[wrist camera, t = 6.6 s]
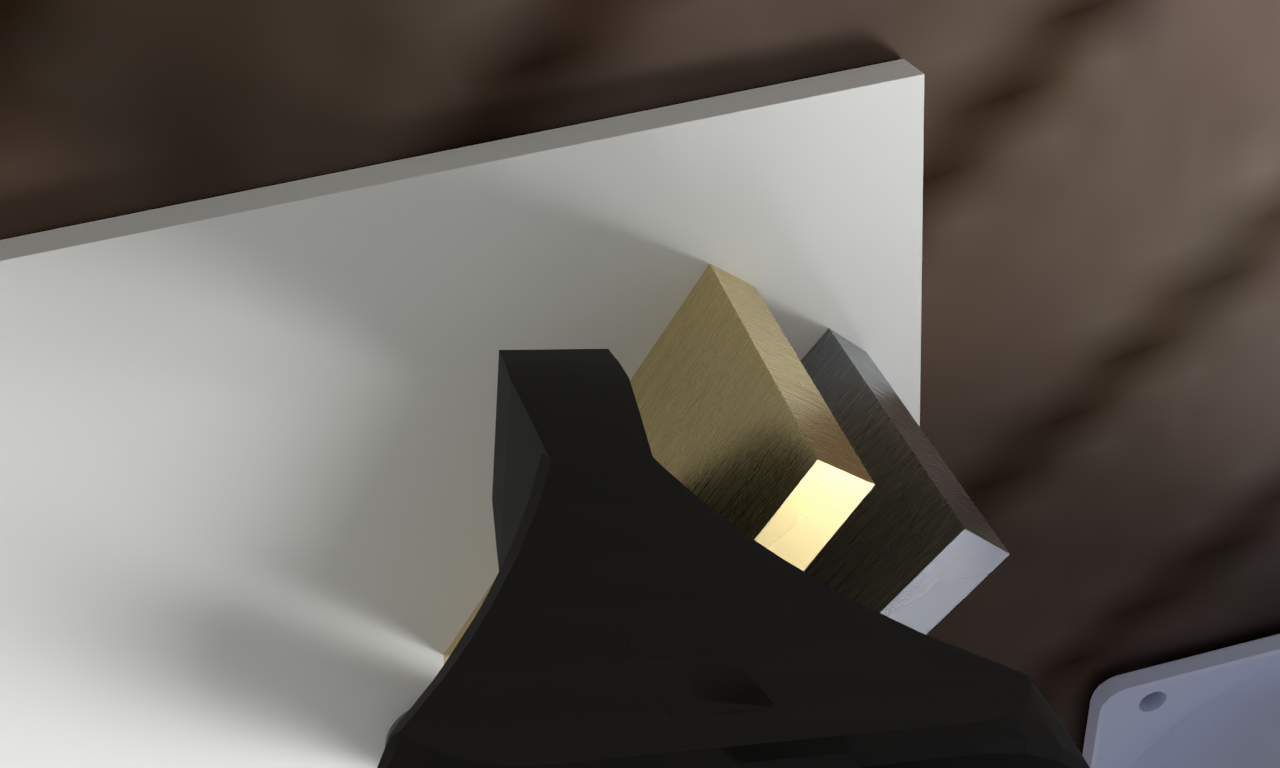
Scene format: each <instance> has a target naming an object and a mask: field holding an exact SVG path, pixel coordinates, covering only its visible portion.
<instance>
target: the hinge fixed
mask: <svg viewBox="0 0 1280 768" xmlns="http://www.w3.org/2000/svg"><path fill="white" fill-rule="evenodd" d="M801 363H802V365H803V366H804V368H805V370H806V371H807V373H808V375H809V376H810V378H811V380H812V381H813V383H814V385H815V386H816V388H817V389H818V391H819V393H820V394H821V396H822V398H823V399H824V401H825V403H826V404H827V406H828V408H829V409H830V411H831V413H832V414H833V416H834V418H835V419H836V421H837V423H838V424H839V426H840V428H841V429H842V431H843V433H844V434H845V436H846V438H847V439H848V441H849V442H850V444H851V446H852V447H853V449H854V451H855V452H856V454H857V456H858V457H859V459H860V461H861V462H862V464H863V466H864V467H865V469H866V471H867V472H868V474H869V476H870V477H871V479H872V481H873V482H874V484H875V485H874V487H873V488H872V489H871V490H870V491H869V493H868V494H867V495H866V496H865V497H864V499H863V500H862V501H861V502H860V504H859V505H858V506H857V507H856V508H855V510H854V511H853V512H852V513H851V514H850V516H849V517H848V518H847V519H846V520H845V522H844V523H843V524H842V525H841V526H840V528H839V529H838V530H837V531H836V533H835V534H834V535H833V536H832V537H831V539H830V540H829V541H828V542H827V543H826V545H825V546H824V547H823V548H822V549H821V551H820V552H819V553H818V554H817V556H816V557H815V558H814V559H813V560H812V562H811V563H810V564H809V565H808V566H807V568H806V569H805V570H804V572H806V573H807V574H809V575H811V576H812V577H814V578H816V579H817V580H819V581H821V582H822V583H824V584H826V585H827V586H829V587H831V588H833V589H834V590H836V591H838V592H840V593H842V594H844V595H846V596H848V597H849V598H851V599H853V600H855V601H857V602H859V603H861V604H863V605H864V606H866V607H868V608H870V609H872V610H875V611H877V612H879V613H881V614H883V615H885V616H887V617H889V618H891V619H893V620H895V621H898V622H900V623H902V624H904V625H906V626H908V627H910V628H912V629H914V630H916V631H918V632H921V633H923V634H925V635H926V634H927V633H928V632H929V631H930V630H931V629H932V628H933V627H935V626H936V625H937V624H938V623H939V622H940V621H941V620H942V619H943V618H944V617H945V616H946V615H947V614H948V613H949V612H950V611H951V610H952V609H953V608H954V607H955V606H956V605H957V604H958V603H959V602H961V601H962V600H963V599H964V598H965V597H966V596H967V595H968V594H969V593H970V592H971V591H972V590H973V589H974V588H975V587H976V586H977V585H978V584H979V583H980V582H981V581H982V580H983V579H984V578H985V577H987V576H988V575H989V574H990V573H991V572H992V571H993V570H994V569H995V568H996V567H997V566H998V565H999V564H1000V563H1001V562H1002V561H1003V560H1004V559H1005V558H1006V557H1007V556H1008V555H1009V552H1008V551H1007V549H1006V548H1005V546H1004V545H1003V544H1002V542H1001V541H1000V539H999V538H998V537H997V535H996V534H995V532H994V531H993V530H992V528H991V527H990V525H989V524H988V523H987V521H986V520H985V518H984V517H983V515H982V514H981V513H980V511H979V510H978V508H977V507H976V506H975V504H974V503H973V501H972V500H971V499H970V497H969V496H968V494H967V493H966V491H965V490H964V489H963V487H962V486H961V484H960V483H959V482H958V480H957V479H956V477H955V476H954V475H953V473H952V472H951V470H950V469H949V468H948V466H947V465H946V463H945V462H944V460H943V459H942V458H941V456H940V455H939V453H938V452H937V451H936V449H935V448H934V446H933V445H932V444H931V442H930V441H929V439H928V438H927V436H926V435H925V434H924V432H923V431H922V429H921V428H920V427H919V425H918V424H917V422H916V421H915V420H914V418H913V417H912V415H911V414H910V412H909V411H908V410H907V408H906V407H905V405H904V404H903V403H902V401H901V400H900V398H899V397H898V396H897V394H896V393H895V391H894V390H893V389H892V387H891V386H890V384H889V383H888V381H887V380H886V379H885V377H884V376H883V374H882V373H881V372H880V370H879V369H878V367H877V366H876V365H875V363H874V362H873V360H872V359H871V357H870V356H869V355H868V353H867V352H866V351H864V350H863V349H861V348H860V347H858V346H856V345H855V344H853V343H852V342H850V341H849V340H847V339H845V338H844V337H842V336H841V335H839V334H838V333H836V332H834V331H833V330H831V329H830V328H829V329H828V330H827V331H826V332H825V333H824V334H823V336H822V337H821V338H820V339H819V340H818V341H817V342H816V344H815V345H814V346H813V347H812V348H811V349H810V351H809V352H808V353H807V354H806V355H805V356H804V357H803V359H802V360H801ZM408 711H409V710H408ZM408 711H407V712H408ZM407 712H405V713H404V714H403V715H401V716H400V717H399V718H398V719H397V720H396V721H395V722H394V724H393V725H392V726H391V728H390V729H389V731H388V733H387V736H386V740H385V747H386V744H387V741H388V737H389V735H390V733H391V732H392V731H393V730H394V728H395V727H396V726H397V725H398V723H399V722H400V721H401V720H402V718H403V717H404V716H405V715H406V713H407Z"/></svg>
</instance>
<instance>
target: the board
mask: <svg viewBox="0 0 1280 768" xmlns="http://www.w3.org/2000/svg"><path fill="white" fill-rule="evenodd" d="M923 139H924V73H922V72H921V71H920V70H918V69H917V68H916V67H914V66H913V65H912V64H910V63H909V62H907V61H906V60H905V59H900V60H895V61H890V62H885V63H880V64H875V65H870V66H865V67H860V68H855V69H850V70H845V71H840V72H835V73H830V74H825V75H820V76H815V77H810V78H805V79H800V80H795V81H790V82H785V83H780V84H775V85H770V86H765V87H760V88H755V89H750V90H745V91H740V92H735V93H730V94H725V95H720V96H715V97H710V98H705V99H700V100H695V101H690V102H685V103H680V104H675V105H671V106H666V107H661V108H656V109H651V110H646V111H641V112H636V113H631V114H626V115H621V116H616V117H611V118H606V119H601V120H596V121H591V122H586V123H581V124H576V125H571V126H566V127H561V128H556V129H551V130H546V131H541V132H536V133H531V134H526V135H521V136H516V137H511V138H506V139H501V140H496V141H491V142H486V143H481V144H476V145H471V146H466V147H461V148H456V149H451V150H446V151H441V152H436V153H431V154H426V155H421V156H416V157H411V158H406V159H401V160H397V161H392V162H387V163H382V164H377V165H372V166H367V167H362V168H357V169H352V170H347V171H342V172H337V173H332V174H327V175H322V176H317V177H312V178H307V179H302V180H297V181H292V182H287V183H282V184H277V185H272V186H267V187H262V188H257V189H252V190H247V191H242V192H237V193H232V194H227V195H222V196H217V197H212V198H207V199H202V200H197V201H192V202H187V203H182V204H177V205H172V206H167V207H162V208H157V209H152V210H147V211H142V212H137V213H132V214H128V215H123V216H118V217H113V218H108V219H103V220H98V221H93V222H88V223H83V224H78V225H73V226H68V227H63V228H58V229H53V230H48V231H43V232H38V233H33V234H28V235H23V236H18V237H13V238H8V239H3V240H0V768H377V767H378V764H379V762H380V759H381V757H382V754H383V752H384V749H385V740H386V736H387V733H388V731H389V729H390V728H391V726H392V725H393V724H394V722H395V721H396V720H397V719H398V718H399V717H400V716H401V715H403V714H404V713H405V712H407V711H408V710H410V708H411V707H412V706H413V705H414V703H415V702H416V701H417V700H418V698H419V697H420V696H421V695H422V693H423V692H424V691H425V690H426V688H427V687H428V686H429V685H430V683H431V682H432V681H433V680H434V678H435V677H436V675H437V674H438V673H439V671H440V670H441V668H442V667H443V666H444V657H443V655H444V654H445V652H446V651H447V649H448V648H449V646H450V645H451V643H452V642H453V640H454V639H455V637H456V636H457V634H458V633H459V631H460V630H461V629H462V627H463V626H464V624H465V623H466V621H467V620H468V618H469V617H470V615H471V614H472V612H473V611H474V609H475V608H476V606H477V605H478V604H479V602H480V601H481V599H482V598H483V596H484V595H485V593H486V592H487V590H488V589H489V587H490V586H491V584H492V583H493V581H494V580H495V578H496V576H497V574H498V572H499V567H498V557H497V548H496V537H495V527H494V516H493V505H492V489H493V468H494V446H495V425H496V404H497V383H498V361H499V350H544V349H609V351H610V352H611V353H612V354H613V355H614V357H615V358H616V359H617V360H618V361H619V363H620V364H621V366H622V367H623V369H624V371H625V372H626V374H627V375H628V377H629V380H631V379H632V377H633V376H634V374H635V373H636V371H637V370H638V368H639V367H640V365H641V364H642V362H643V361H644V359H645V358H646V357H647V355H648V354H649V352H650V351H651V349H652V348H653V346H654V345H655V343H656V342H657V340H658V339H659V337H660V336H661V334H662V333H663V332H664V330H665V329H666V327H667V326H668V324H669V323H670V321H671V320H672V318H673V317H674V315H675V314H676V312H677V311H678V310H679V308H680V307H681V305H682V304H683V302H684V301H685V299H686V298H687V296H688V295H689V293H690V292H691V290H692V289H693V287H694V286H695V285H696V283H697V282H698V280H699V279H700V277H701V276H702V274H703V273H704V271H705V270H706V268H707V267H708V265H709V264H712V265H714V266H716V267H718V268H720V269H722V270H724V271H726V272H727V273H729V274H731V275H733V276H735V277H737V278H739V279H741V280H743V281H745V282H747V283H749V284H751V285H753V286H755V287H756V288H757V290H758V292H759V293H760V295H761V297H762V298H763V300H764V302H765V303H766V305H767V307H768V308H769V310H770V312H771V313H772V315H773V317H774V318H775V320H776V322H777V323H778V325H779V327H780V328H781V330H782V332H783V333H784V335H785V336H786V338H787V340H788V341H789V343H790V345H791V346H792V348H793V350H794V351H795V353H796V355H797V356H798V358H799V360H800V361H801V360H802V359H803V357H804V356H805V355H806V354H807V353H808V352H809V351H810V349H811V348H812V347H813V346H814V345H815V344H816V342H817V341H818V340H819V339H820V338H821V337H822V336H823V334H824V333H825V332H826V331H827V330H828V329H829V328H830V329H831V330H833V331H834V332H836V333H838V334H839V335H841V336H842V337H844V338H845V339H847V340H849V341H850V342H852V343H853V344H855V345H856V346H858V347H860V348H861V349H863V350H864V351H866V352H867V353H868V355H869V356H870V357H871V359H872V360H873V362H874V363H875V365H876V366H877V367H878V369H879V370H880V372H881V373H882V374H883V376H884V377H885V379H886V380H887V381H888V383H889V384H890V386H891V387H892V389H893V390H894V391H895V393H896V394H897V396H898V397H899V398H900V400H901V401H902V403H903V404H904V405H905V407H906V408H907V410H908V411H909V412H910V414H911V415H912V417H913V418H914V420H915V421H916V422H917V424H918V425H919V427H920V373H921V295H922V217H923Z"/></svg>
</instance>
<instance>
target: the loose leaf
mask: <svg viewBox="0 0 1280 768" xmlns="http://www.w3.org/2000/svg"><path fill="white" fill-rule="evenodd" d="M630 383H631V386H632V389H633V392H634V395H635V399H636V402H637V405H638V408H639V412H640V415H641V418H642V422H643V425H644V429H645V432H646V435H647V439H648V442H649V446H650V449H651V452H652V456H653V458H655V459H656V460H657V461H658V462H659V463H660V464H661V465H662V466H663V467H664V468H665V469H666V470H667V471H668V472H670V473H671V474H672V475H673V476H674V477H675V478H676V479H678V480H679V481H680V482H681V483H682V484H683V485H684V486H685V487H687V488H688V489H689V490H690V491H691V492H692V493H693V494H695V495H696V496H697V497H698V498H699V499H701V500H702V501H703V502H704V503H706V504H707V505H708V506H709V507H711V508H712V509H713V510H714V511H716V512H717V513H718V514H720V515H721V516H722V517H724V518H725V519H726V520H728V521H729V522H731V523H732V524H733V525H735V526H736V527H737V528H739V529H740V530H742V531H743V532H744V533H746V534H747V535H748V536H750V537H751V538H752V539H754V540H755V541H757V542H758V543H760V544H761V545H762V546H764V547H766V548H767V549H769V550H770V551H772V552H773V553H775V554H776V555H778V556H779V557H781V558H782V559H784V560H786V561H787V562H789V563H791V564H792V565H794V566H796V567H797V568H799V569H801V570H802V571H804V570H805V569H806V568H807V566H808V565H809V564H810V563H811V562H812V560H813V559H814V558H815V557H816V556H817V554H818V553H819V552H820V551H821V549H822V548H823V547H824V546H825V545H826V543H827V542H828V541H829V540H830V539H831V537H832V536H833V535H834V534H835V533H836V531H837V530H838V529H839V528H840V526H841V525H842V524H843V523H844V522H845V520H846V519H847V518H848V517H849V516H850V514H851V513H852V512H853V511H854V510H855V508H856V507H857V506H858V505H859V504H860V502H861V501H862V500H863V499H864V497H865V496H866V495H867V494H868V493H869V491H870V490H871V489H872V488H873V487H874V485H875V484H874V482H873V481H872V479H871V477H870V476H869V474H868V472H867V471H866V469H865V467H864V466H863V464H862V462H861V461H860V459H859V457H858V456H857V454H856V452H855V451H854V449H853V447H852V446H851V444H850V442H849V441H848V439H847V438H846V436H845V434H844V433H843V431H842V429H841V428H840V426H839V424H838V423H837V421H836V419H835V418H834V416H833V414H832V413H831V411H830V409H829V408H828V406H827V404H826V403H825V401H824V399H823V398H822V396H821V394H820V393H819V391H818V389H817V388H816V386H815V385H814V383H813V381H812V380H811V378H810V376H809V375H808V373H807V371H806V370H805V368H804V366H803V365H802V363H801V361H800V360H799V358H798V356H797V355H796V353H795V351H794V350H793V348H792V346H791V345H790V343H789V341H788V340H787V338H786V336H785V335H784V333H783V332H782V330H781V328H780V327H779V325H778V323H777V322H776V320H775V318H774V317H773V315H772V313H771V312H770V310H769V308H768V307H767V305H766V303H765V302H764V300H763V298H762V297H761V295H760V293H759V292H758V290H757V288H756V287H755V286H753V285H751V284H749V283H747V282H745V281H743V280H741V279H739V278H737V277H735V276H733V275H731V274H729V273H727V272H726V271H724V270H722V269H720V268H718V267H716V266H714V265H712V264H709V265H708V267H707V268H706V270H705V271H704V273H703V274H702V276H701V277H700V279H699V280H698V282H697V283H696V285H695V286H694V287H693V289H692V290H691V292H690V293H689V295H688V296H687V298H686V299H685V301H684V302H683V304H682V305H681V307H680V308H679V310H678V311H677V312H676V314H675V315H674V317H673V318H672V320H671V321H670V323H669V324H668V326H667V327H666V329H665V330H664V332H663V333H662V334H661V336H660V337H659V339H658V340H657V342H656V343H655V345H654V346H653V348H652V349H651V351H650V352H649V354H648V355H647V357H646V358H645V359H644V361H643V362H642V364H641V365H640V367H639V368H638V370H637V371H636V373H635V374H634V376H633V377H632V379H631V380H630ZM494 581H495V580H494ZM494 581H493V583H494ZM493 583H492V584H491V586H490V587H489V589H488V590H487V592H486V593H485V595H484V596H483V598H482V599H481V601H480V602H479V604H478V605H477V606H476V608H475V609H474V611H473V612H472V614H471V615H470V617H469V618H468V620H467V621H466V623H465V624H464V626H463V627H462V629H461V630H460V631H459V633H458V634H457V636H456V637H455V639H454V640H453V642H452V643H451V645H450V646H449V648H448V649H447V651H446V652H445V654H444V655H443V657H444V664H445V663H446V661H447V659H448V658H449V656H450V655H451V653H452V652H453V650H454V649H455V647H456V645H457V644H458V642H459V641H460V639H461V638H462V636H463V635H464V633H465V631H466V630H467V628H468V627H469V625H470V624H471V622H472V621H473V619H474V617H475V616H476V614H477V612H478V611H479V609H480V607H481V605H482V604H483V602H484V600H485V598H486V596H487V594H488V593H489V591H490V589H491V587H492V585H493Z"/></svg>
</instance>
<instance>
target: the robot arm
mask: <svg viewBox="0 0 1280 768" xmlns="http://www.w3.org/2000/svg"><path fill="white" fill-rule="evenodd" d="M492 505H493V516H494V527H495V537H496V548H497V557H498V567H499V572H498V574H497V576H496V578H495V581H494V583H493V585H492V587H491V589H490V591H489V593H488V594H487V596H486V598H485V600H484V602H483V604H482V605H481V607H480V609H479V611H478V612H477V614H476V616H475V617H474V619H473V621H472V622H471V624H470V625H469V627H468V628H467V630H466V631H465V633H464V635H463V636H462V638H461V639H460V641H459V642H458V644H457V645H456V647H455V649H454V650H453V652H452V653H451V655H450V656H449V658H448V659H447V661H446V663H445V664H444V666H443V667H442V668H441V670H440V671H439V673H438V674H437V675H436V677H435V678H434V680H433V681H432V682H431V683H430V685H429V686H428V687H427V688H426V690H425V691H424V692H423V693H422V695H421V696H420V697H419V698H418V700H417V701H416V702H415V703H414V705H413V706H412V707H411V708H410V710H409V711H408V712H407V713H406V715H405V716H404V717H403V718H402V720H401V721H400V722H399V723H398V725H397V726H396V727H395V728H394V730H393V731H392V732H391V733H390V735H389V737H388V741H387V744H386V747H385V749H384V752H383V754H382V757H381V759H380V762H379V764H378V767H377V768H1280V634H1276V635H1272V636H1268V637H1264V638H1260V639H1257V640H1253V641H1249V642H1245V643H1241V644H1237V645H1233V646H1229V647H1225V648H1221V649H1217V650H1214V651H1210V652H1206V653H1202V654H1198V655H1194V656H1190V657H1186V658H1182V659H1178V660H1175V661H1171V662H1167V663H1163V664H1159V665H1155V666H1151V667H1147V668H1143V669H1139V670H1135V671H1132V672H1128V673H1124V674H1120V675H1116V676H1114V677H1111V678H1109V679H1107V680H1106V681H1104V682H1103V683H1101V684H1100V685H1099V686H1098V687H1097V688H1096V689H1095V691H1094V693H1093V695H1092V698H1091V700H1090V707H1089V713H1088V720H1087V727H1086V734H1085V741H1084V747H1083V754H1081V752H1080V751H1079V749H1078V748H1077V746H1076V744H1075V743H1074V741H1073V740H1072V738H1071V736H1070V735H1069V733H1068V732H1067V730H1066V728H1065V727H1064V725H1063V723H1062V722H1061V720H1060V719H1059V717H1058V716H1057V714H1056V713H1055V712H1054V710H1053V709H1052V707H1051V706H1050V705H1049V703H1048V702H1047V701H1046V699H1045V698H1044V696H1043V695H1042V694H1041V692H1040V691H1039V690H1038V688H1037V687H1036V686H1035V684H1034V683H1033V682H1032V680H1031V679H1030V678H1029V676H1028V675H1026V674H1023V673H1021V672H1018V671H1016V670H1013V669H1011V668H1008V667H1006V666H1003V665H1001V664H998V663H995V662H993V661H990V660H988V659H985V658H983V657H980V656H978V655H975V654H973V653H970V652H967V651H965V650H962V649H960V648H957V647H955V646H952V645H950V644H947V643H944V642H942V641H939V640H937V639H934V638H932V637H930V636H927V635H925V634H923V633H921V632H918V631H916V630H914V629H912V628H910V627H908V626H906V625H904V624H902V623H900V622H898V621H895V620H893V619H891V618H889V617H887V616H885V615H883V614H881V613H879V612H877V611H875V610H872V609H870V608H868V607H866V606H864V605H863V604H861V603H859V602H857V601H855V600H853V599H851V598H849V597H848V596H846V595H844V594H842V593H840V592H838V591H836V590H834V589H833V588H831V587H829V586H827V585H826V584H824V583H822V582H821V581H819V580H817V579H816V578H814V577H812V576H811V575H809V574H807V573H806V572H804V571H802V570H801V569H799V568H797V567H796V566H794V565H792V564H791V563H789V562H787V561H786V560H784V559H782V558H781V557H779V556H778V555H776V554H775V553H773V552H772V551H770V550H769V549H767V548H766V547H764V546H762V545H761V544H760V543H758V542H757V541H755V540H754V539H752V538H751V537H750V536H748V535H747V534H746V533H744V532H743V531H742V530H740V529H739V528H737V527H736V526H735V525H733V524H732V523H731V522H729V521H728V520H726V519H725V518H724V517H722V516H721V515H720V514H718V513H717V512H716V511H714V510H713V509H712V508H711V507H709V506H708V505H707V504H706V503H704V502H703V501H702V500H701V499H699V498H698V497H697V496H696V495H695V494H693V493H692V492H691V491H690V490H689V489H688V488H687V487H685V486H684V485H683V484H682V483H681V482H680V481H679V480H678V479H676V478H675V477H674V476H673V475H672V474H671V473H670V472H668V471H667V470H666V469H665V468H664V467H663V466H662V465H661V464H660V463H659V462H658V461H657V460H656V459H655V458H653V456H652V452H651V449H650V446H649V442H648V439H647V435H646V432H645V429H644V425H643V422H642V418H641V415H640V412H639V408H638V405H637V402H636V399H635V395H634V392H633V389H632V386H631V383H630V380H629V377H628V375H627V374H626V372H625V371H624V369H623V367H622V366H621V364H620V363H619V361H618V360H617V359H616V358H615V357H614V355H613V354H612V353H611V352H610V351H609V349H544V350H499V361H498V383H497V404H496V425H495V446H494V468H493V489H492Z"/></svg>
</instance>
